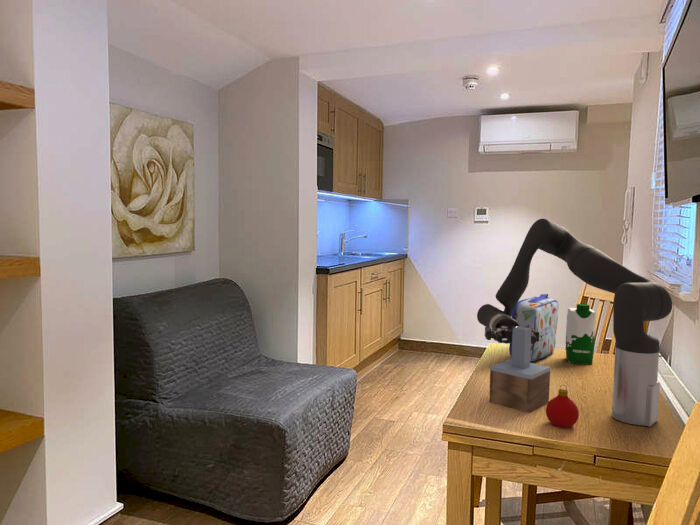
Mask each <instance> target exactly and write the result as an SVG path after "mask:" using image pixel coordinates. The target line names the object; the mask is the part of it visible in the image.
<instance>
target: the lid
mask: <svg viewBox="0 0 700 525" xmlns="http://www.w3.org/2000/svg"><path fill="white" fill-rule="evenodd" d="M530 349H531V328H524V327H516V328H513V335H512V356H511V358H510V359H507V360H504V361H500V362H499V363H496V364H493V365H491V366H490V370H492V371H497V372H501V373H505V374H509V375H514V376H518V377H522V378H527V379H533V378H535V377H538V376H540V375H542V374H544V373H547V372H549V371H550V372H551V366H548V365H543V364H537V363H533V362H531V361H530Z"/></svg>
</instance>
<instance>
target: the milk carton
mask: <svg viewBox="0 0 700 525" xmlns="http://www.w3.org/2000/svg"><path fill="white" fill-rule="evenodd" d="M596 317H597V313H596V311H595V310H594V309H591V307H590V304H587V303H577V304H576V307H567V313H566V326H565V328H566V329H565V355H566V357H565V358H566V359H567V361H568V362H569V364H577V365H578V364H579V365H593V359H594V353H595V341H596V338H595V337H596Z"/></svg>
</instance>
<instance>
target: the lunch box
mask: <svg viewBox="0 0 700 525" xmlns="http://www.w3.org/2000/svg"><path fill="white" fill-rule="evenodd" d="M548 296H549V294H548V293H544V294H543V293H542V294H540V295H539V296H533V297H530V298H524V299H521V300H520V299H519V301H518V302H517V304H516V306H515V308H514V310H513V313H512V316H511V318H513V319H514V320H515V321H517V323H518V324H519V326H520V327H524V328H533V329H535V330H536V331H538V332H540V334H539V341H538V342H536V343H535V344H531V349H530V362H535V361H538V360H541V359H544V358H547V357H548V356H549V355H551V354H553V353H554V351H555V348H556V344H557V343H556V342H557V341H556V340H557V339H556V336H557V330H558V329H557V328H558V319H559V302H558V300H557V299H555V298H550V297H548ZM508 349H509V350H508V351H509V356H510V357H512V343H509V346H508Z"/></svg>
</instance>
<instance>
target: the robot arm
mask: <svg viewBox="0 0 700 525" xmlns="http://www.w3.org/2000/svg"><path fill="white" fill-rule="evenodd" d="M538 250H540V251H542V252H545V253H547V254H550V255H551V256H554V257H556V258H558V259H560V260H562V261H564V262H565V263H566V265H567V268H568V270H570V272H571V273H572V274H573V275H574V276H576V277H577V278H578V279H579V280H581V282H582V281H583V283H585V284H587V285H589V286H591V287H594V288H596V289H599V290H601V291H606V292H608V293H612V294H614V296H613V305H612V308H613V309H612V311H613V312H612V314H613V317H612V318H613V321H612V322H613V324H612V327H613V330H612V331H613V337H614V338H615V349H614V350H615V351H614V367H613V368H614V369H613V370H614V371H613V382H612V383H613V384H612V385H613V388H612V403H611V416H612V417H613V419H615V420H616V421H620V422H622V423H626V424H629V425H630V424H631V425H635V426H644V427H645V426H646V427H652V426H653V425H654V424H655V423H656V422H657V421H658V417H659V403H660V387H661V386H660V385H661V384H660V381H658V378H659V376H658V375H659V360H660V359H659V358H660V346H661V344H660V341H659V339H658V338H657V337H655V336H652V335H649V334H647V332H645V328H644V326H645V324H644V322H655V321H659V320H662V319H665V318H666V317H668V316H669V315H670V314H671V312H672V309H673V299H672V297H671V295H670V293H669V292H668V290H667V289H666V288H665V287H664V286H663V285H661V284H659V283H658V282H655V281H653V280H651V279H649V278H647V277H645V276H642V275H640V274H638V273H636V272H634V271H632V270H630V269H629V268H627V267H626V266H624V265H623V264H621V263H619V262H618V261H617V260H615V259H613V258H612V257H610V256H609V255H607V254H606V253H604V252H602V251H601V250H600V249H598V248H596V247H595V246H592V245H589V244H588V243H585V242H582V241H581V240H579V239H578V238H576V237H575V235H573V234H572V233H571V232H570V231H568V230H567V228H566V227H563V226H562V225H560V224H558V223H555V222H554V221H552V220H549V219H547V218H539V219H537V220H535V222H533V224H532V225H531V226H530V228H529V229H528V231H527V233H526V235H525V238H524V240H523V242H522V244H521V247H520V248H519V250H518V253H517V255H516V258H515V260H514V263H513V265H512V267H511V269H510V271H509V273H508V274H507V277H506V278H505V280H504V281H503V283H502V284H501V285H500V287H499V289H497V292H496V294H495V299H496V300H497V301H498V303H499V304H501V305H502V306H503V307H504V309H503V310H501V309H500V308H498V307H496V306H494V305H492V304H490V303H486V304H483V305H481V306H480V307H479V309H478V310H477V313H476V319H477V322H478V323H479V324H481V325H482V326H483V327H484V338H485V339H486V340H487V341H491V340H492V339H493V341H495V342H498V344H506V345H507V344H510V343H512V335H513V328H516V327H520V326H519V324H518V323H517V321H515V320H514V319H513V318H512V313H513V310H514V308H515V306H516V304H517V302H518V301H520V299H521V297H523V296H522V295H523V294H524V293H525V291H526V290H527V288H528V285H529V281H530V270H531V269H530V268H531V262H532V260H533V257H534V255H535V254H536V252H537V251H538ZM539 334H540V332H538V331H536V330H535V329H533V328H531V344H535V343H536V342H538V341H539Z"/></svg>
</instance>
